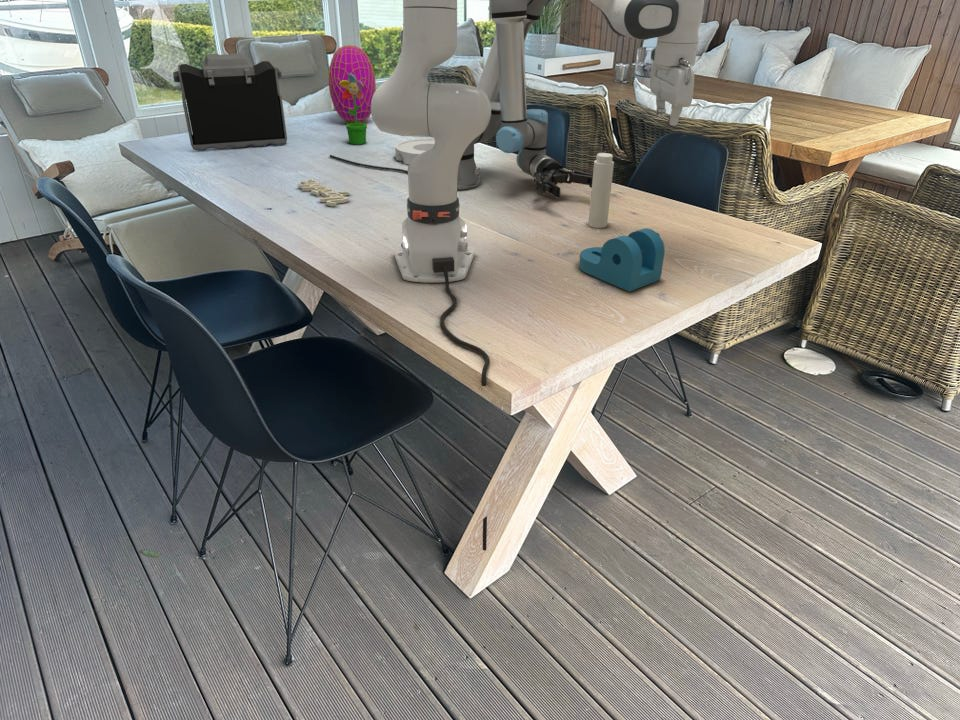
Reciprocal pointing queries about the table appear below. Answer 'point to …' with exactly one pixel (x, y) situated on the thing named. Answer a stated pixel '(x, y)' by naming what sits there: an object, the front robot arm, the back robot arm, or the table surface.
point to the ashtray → (412, 149)
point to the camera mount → (626, 260)
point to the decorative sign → (324, 192)
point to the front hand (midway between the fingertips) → (666, 120)
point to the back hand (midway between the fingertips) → (580, 190)
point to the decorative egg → (340, 66)
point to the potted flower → (354, 129)
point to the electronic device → (232, 102)
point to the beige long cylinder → (601, 190)
